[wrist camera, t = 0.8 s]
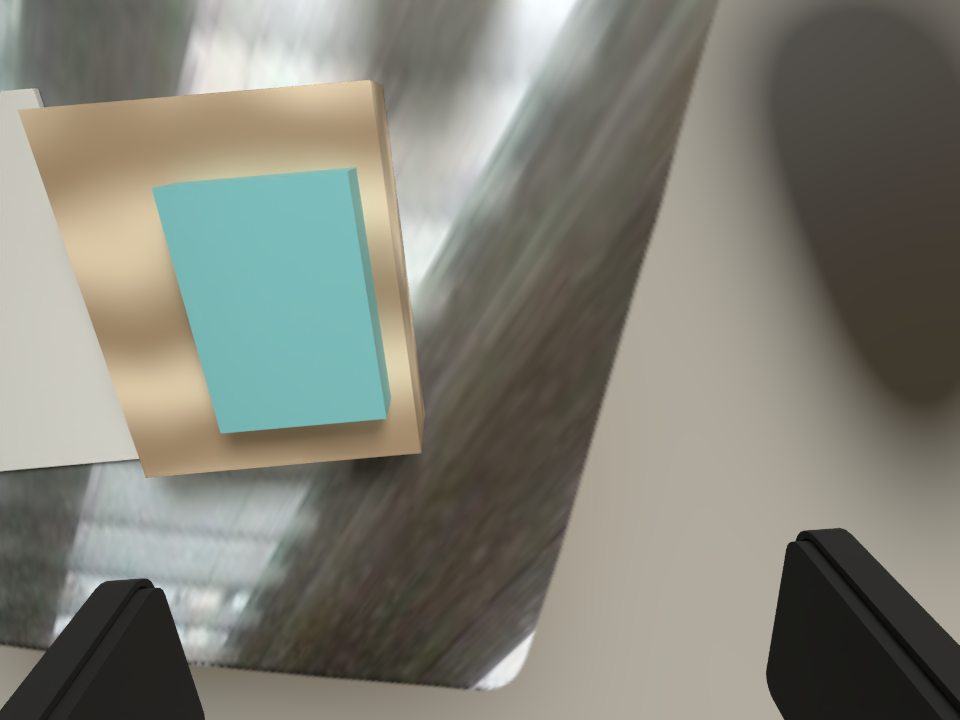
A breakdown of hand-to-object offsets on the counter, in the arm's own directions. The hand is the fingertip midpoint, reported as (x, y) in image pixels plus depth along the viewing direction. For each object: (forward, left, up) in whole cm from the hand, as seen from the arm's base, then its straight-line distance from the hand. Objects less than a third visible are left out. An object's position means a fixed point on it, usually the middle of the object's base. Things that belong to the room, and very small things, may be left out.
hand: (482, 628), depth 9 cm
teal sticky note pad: (-1, -7, -17) cm, 19 cm away
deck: (-1, -9, -21) cm, 23 cm away
